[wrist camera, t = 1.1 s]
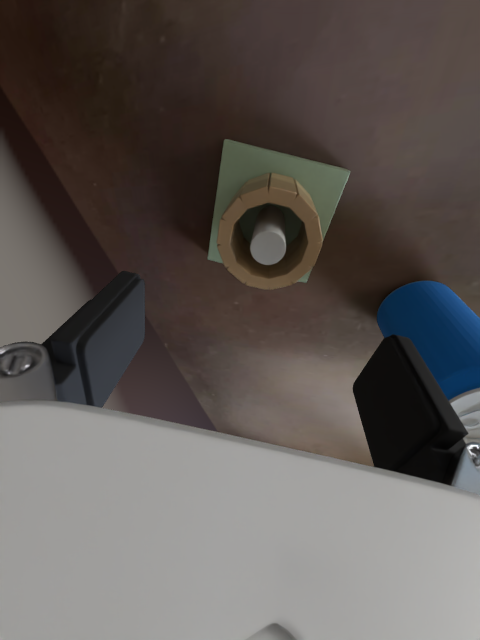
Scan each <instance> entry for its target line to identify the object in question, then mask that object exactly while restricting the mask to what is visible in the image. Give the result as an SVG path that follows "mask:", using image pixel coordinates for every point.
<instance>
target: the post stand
mask: <svg viewBox="0 0 480 640" xmlns="http://www.w3.org/2000/svg"><path fill="white" fill-rule="evenodd" d="M267 173H270V176H271V173H276V174H280V175H284V176H288V177H292V178H293V179H296V180H297V181H298V182H299V183H300V185H301V186H302V187H303V188H304V189H305V190H306V191H307V192H308V193H309V194H310V196H311V199H312V201H313V204H314V206H315V209H316V211H317V214H318V216H319V220H320V226H321V232H322V238H323V240H324V237H325V234H326V232H327V229H328V227H329V224H330V222H331V219H332V217H333V214H334V212H335V209H336V207H337V204H338V202H339V199H340V197H341V194H342V192H343V189H344V187H345V184H346V181H347V179H348V176H349V174H350V171H349V170H347V169H345V168H341V167H337V166H333V165H329V164H325V163H321V162H317V161H313V160H309V159H305V158H301V157H297V156H293V155H289V154H285V153H281V152H277V151H273V150H269V149H265V148H261V147H257V146H253V145H249V144H245V143H241V142H237V141H233V140H228V139H226V140H224V143H223V150H222V157H221V164H220V172H219V179H218V186H217V193H216V201H215V208H214V215H213V222H212V230H211V237H210V244H209V251H208V260H212V261H216V262H220V263H223V261H222V258H221V256H220V253H219V251H218V248H217V245H218V244H217V243H216V242H217V236H218V229H219V223H220V219H221V217H222V215H223V213H224V211H225V210H226V208H227V206H228V205H229V203H230V201H231V200H232V198H233V197H234V196H235V194H236V193H237V192H238V191H239V189H240V188H241V187H242V186H243V185H244V183H245V182H248V180H249V179H252V178H255V177H258V176H261V175H264V174H267ZM239 224H240V227H241V230H242V233H243V236H244V238H245V239H246V240H247V241H248V242H250V243H251V245H250V251H251V254H252V256H253V258H254V259H255V260H256V261H257V262H259V263H261V264H264V265H271V264H275V263H277V262H278V261H280V260H281V259H282V258H283V256H284V254H285V251H286V246H287V245H289V244H290V243H291V242H292V241H293V240H294V239H295V238H296V237H297V236H298V233H299V230H300V227H301V224H302V220H301V219H300V218H299V217H298V216H297V215H296V214H295V213H294V212H293V211H292V210H291V209H290V208H289V207H284V206H280V205H276V204H272V203H265V204H262V205H259V206H256V207H253V208H250V209H247V210H246V212H245V213H244V214H243V215H242V216H241V217H240V219H239ZM322 242H323V241H322ZM311 270H312V269H311ZM311 270H310V271H309V272H308V273H306V274H305V275H304V276H303V277H302V278H300V279H299V280H298V281H300V282H305V283H306V282H307V280H308V277H309V275H310V272H311Z"/></svg>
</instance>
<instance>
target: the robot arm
mask: <svg viewBox="0 0 480 640" xmlns="http://www.w3.org/2000/svg"><path fill="white" fill-rule="evenodd" d="M144 336H145V283H144V280H143V279H140V275H139V274H135V273H131V272H127V271H122V272H121V273H119V274H118V275H117V276H116V277H115V278H114V279H113V280H112V281H111V282H110V283H109V284H108V285H107V286H106V287H104V288H103V289H102V290H101V291H100V292H99V293H98V294H97V295H96V296H95V297H94V298H93V299H92V300H90V301H88V302H87V303H86V304H85V305H83V306H82V307H81V308H80V309H79V310H78V311H77V312H76V313H75V314H74V315H73V316H72V317H70V318H69V319H68V320H67V321H66V322H65V323H64V324H63V325H62V326H61V327H60V328H59V329H57V331H56V332H54V333H53V334H52V335H51V336H50V337H49V338H48V339H47V340H46V341H45V342H43V343H42V344H37V343H34V342H17V343H12V344H8V345H5V346H3V347H0V640H480V443H476V442H470V443H467V444H466V443H465V441H464V439H463V438H464V437H465V436H466V435H468V434H469V433H468V432H467V430H466V428H465V427H464V425H463V423H462V422H461V420H460V419H459V417H458V415H457V414H456V412H455V410H454V409H453V407H452V406H451V404H450V402H449V401H448V399H447V398H446V396H445V394H444V393H443V391H442V389H441V388H440V386H439V385H438V383H437V381H436V380H435V378H434V376H433V375H432V373H431V372H430V370H429V368H428V367H427V365H426V364H425V362H424V360H423V359H422V357H421V355H420V354H419V352H418V351H417V349H416V347H415V346H414V344H413V342H412V341H411V340H410V338H407V337H403V336H399V335H395V334H392V335H390V336H389V337H385V338H384V339H383V341H382V342H381V344H380V345H379V347H378V348H377V350H376V351H375V352H374V354H373V355H372V357H371V358H370V360H369V361H368V363H367V364H366V366H365V367H364V369H363V370H362V372H361V373H360V375H359V376H358V378H357V379H356V381H355V382H354V385H353V393H354V396H355V400H356V404H357V407H358V411H359V414H360V418H361V421H362V425H363V428H364V432H365V436H366V439H367V443H368V446H369V450H370V453H371V457H372V460H373V464H374V467H372V466H367V465H363V464H358V463H354V462H350V461H345V460H341V459H336V458H332V457H328V456H323V455H319V454H314V453H310V452H305V451H301V450H296V449H292V448H287V447H283V446H278V445H274V444H269V443H265V442H260V441H256V440H251V439H247V438H242V437H238V436H233V435H229V434H224V433H220V432H215V431H210V430H206V429H201V428H196V427H192V426H187V425H183V424H178V423H173V422H168V421H164V420H159V419H155V418H150V417H145V416H140V415H135V414H130V413H125V412H120V411H115V410H110V409H105V408H102V407H103V405H104V403H105V402H106V400H107V399H108V397H109V396H110V394H111V392H112V391H113V389H114V388H115V386H116V384H117V383H118V381H119V380H120V378H121V376H122V375H123V373H124V372H125V370H126V368H127V367H128V365H129V363H130V362H131V360H132V359H133V357H134V355H135V354H136V352H137V351H138V349H139V348H140V346H141V344H142V343H143V340H144Z"/></svg>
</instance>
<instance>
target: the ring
mask: <svg viewBox="0 0 480 640" xmlns="http://www.w3.org/2000/svg"><path fill="white" fill-rule="evenodd" d="M265 203H272V204H276V205H280V206H284V207H289V208H290V209H291V210H292V211H293V212H294V213H295V214H296V215H297V216H298V217H299V218H300V219H301V220H302V224H301V227H300V230H299V233H298V236H297V237H296V238H295V239H294V240H293V241H292V242H291V243H290V244H289V245H287V246H286V251H285V254H284V256H283V258H282V259H281V260H280V261H278V262H277V263H275V264H271V265H264V264H261V263H259V262H257V261H256V260H255V259H254V258H253V256H252V254H251V251H250V245H251V243H250V242H248V241H247V240H246V239H245V238H244V236H243V233H242V230H241V227H240V224H239V219H240V217H241V216H242V215H243V214H244V213H245V212H246V210H247V209H250V208H253V207H256V206H259V205H262V204H265ZM322 241H323V238H322V232H321V226H320V220H319V216H318V214H317V211H316V209H315V206H314V204H313V201H312V199H311V196H310V194H309V193H308V192H307V191H306V190H305V189H304V188H303V187H302V186H301V185H300V183H299V182H298V181H297V180H296V179H293V178H292V177H288V176H284V175H280V174H276V173H271V176H270V173H267V174H264V175H261V176H258V177H255V178H252V179H249V180H248V182H245V183H244V185H243V186H242V187H241V188H240V189H239V191H238V192H237V193H236V194H235V196H234V197H233V198H232V200H231V201H230V203H229V205H228V206H227V208H226V210H225V211H224V213H223V215H222V217H221V219H220V223H219V229H218V236H217V242H216V243H217V244H218V245H217V248H218V251H219V253H220V256H221V258H222V261H223V263H224V266H225V267H227V270H228V271H229V272H230V273H231V274H233V275H234V276H235V277H236V278H237V279H238V280H240V281H241V282H242V283H243V284H244V283H245V282H246V283H245V285H248V286H252V287H256V288H261V289H265V290H268V287H269V290H272V289H276V288H280V287H285V286H289V285H292V283H296V282H297V281H298V280H299V279H300V278H302V277H303V276H304V275H305V274H306V273H308V272H309V271H310V270H311V269H312V267H314V265H315V262H316V260H317V257H318V255H319V252H320V250H321V247H322V245H323V244H322Z"/></svg>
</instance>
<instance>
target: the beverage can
mask: <svg viewBox="0 0 480 640" xmlns="http://www.w3.org/2000/svg"><path fill="white" fill-rule="evenodd" d="M377 322H378V325H379V328H380V330H381V332H382V334H383V336H384V338H385V337H389V336H390V335H392V334H395V335H399V336H403V337H407V338H410V340H411V341H412V342H413V344H414V346H415V347H416V349H417V351H418V352H419V354H420V355H421V357H422V359H423V360H424V362H425V364H426V365H427V367H428V368H429V370H430V372H431V373H432V375H433V376H434V378H435V380H436V381H437V383H438V385H439V386H440V388H441V389H442V391H443V393H444V394H445V396H446V398H447V399H448V401H449V402H450V404H451V406H452V407H453V409H454V410H455V412H456V414H457V415H458V417H459V419H460V420H461V422H462V423H463V425H464V427H465V428H466V430H467V432H468V433H469V434H468V435H466V436H465V437H464V438H463V439H464V441H465V443H466V444H467V443H470V442H476V443H480V318H479V317H478V316H477V315H476V314H475V313H474V312H473V311H472V310H471V309H470V308H469V307H468V306H467V305H466V304H465V303H464V302H463V301H462V300H461V299H460V298H459V297H458V296H457V295H456V294H455V293H454V292H453V291H452V290H451V289H450V288H449V287H447V286H446V285H444V284H442V283H439V282H435V281H417V282H413V283H409V284H406V285H404V286H402V287H400V288H398V289H396V290H395V291H393V292H392V293H390V294H389V295H388V296H387V297H386V298H385V299H384V301H383V302H382V303H381V305H380V307H379V309H378V312H377Z"/></svg>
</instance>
